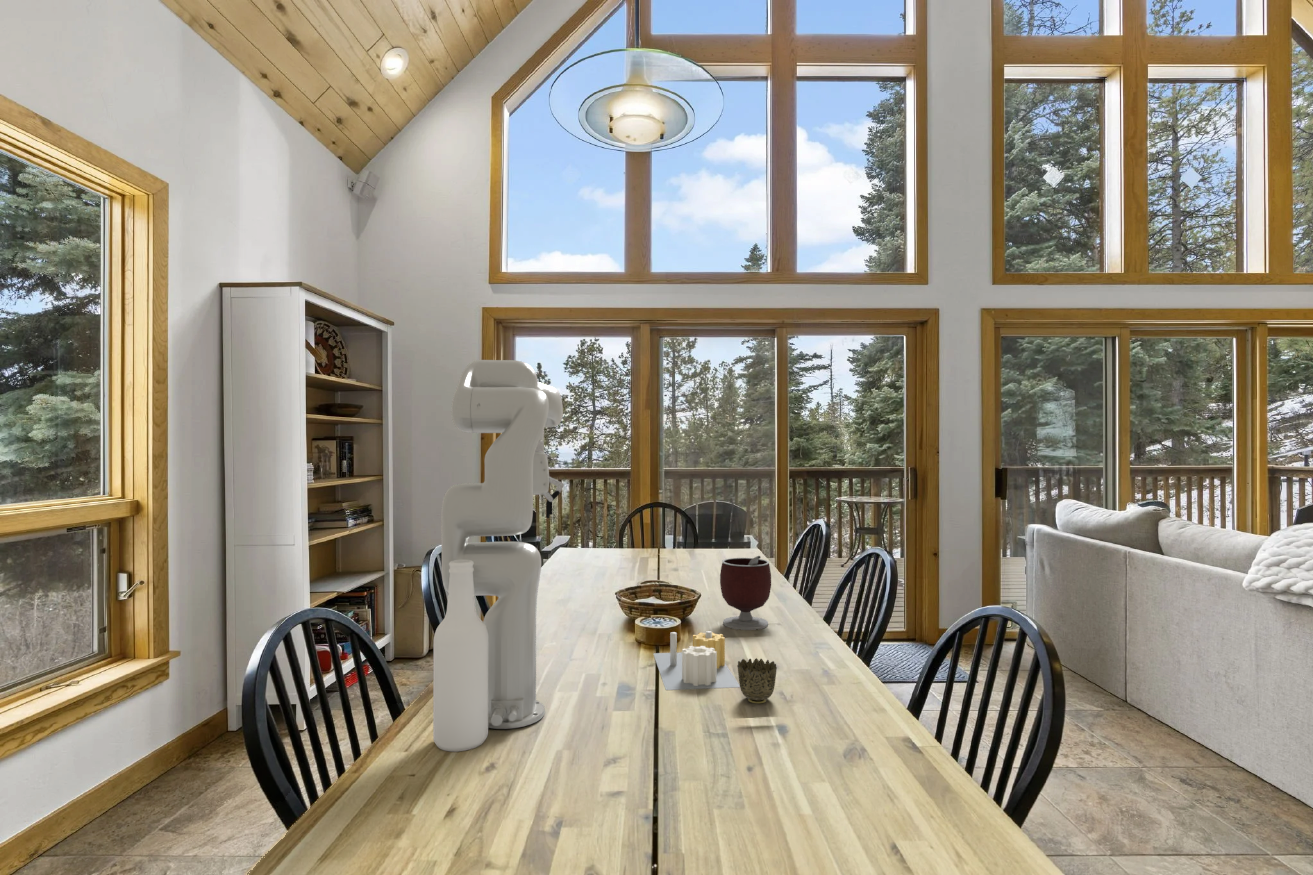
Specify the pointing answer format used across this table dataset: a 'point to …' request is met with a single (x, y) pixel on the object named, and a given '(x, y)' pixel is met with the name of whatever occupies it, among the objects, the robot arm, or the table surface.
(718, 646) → the ochre gear
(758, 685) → the cup
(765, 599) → the mate gourd
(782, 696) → the table surface
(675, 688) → the gear board
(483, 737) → the alcohol
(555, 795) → the table surface
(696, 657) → the cream gear
